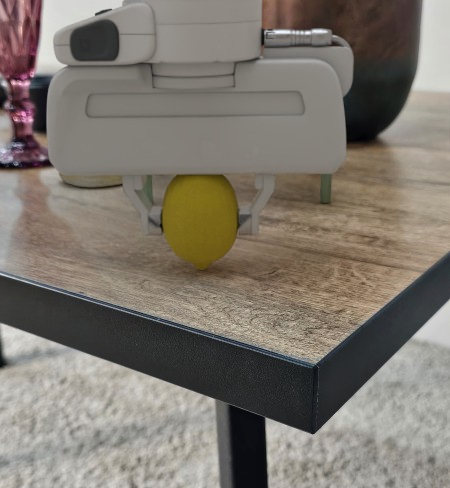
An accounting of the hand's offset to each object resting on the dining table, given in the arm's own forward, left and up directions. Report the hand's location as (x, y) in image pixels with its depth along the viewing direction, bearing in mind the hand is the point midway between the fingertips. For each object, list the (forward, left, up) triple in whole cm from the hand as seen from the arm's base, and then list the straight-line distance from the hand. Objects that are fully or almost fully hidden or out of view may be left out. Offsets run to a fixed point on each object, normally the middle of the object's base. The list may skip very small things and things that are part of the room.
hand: (200, 233), depth 53 cm
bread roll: (-13, +28, -3) cm, 31 cm away
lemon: (0, 0, -3) cm, 3 cm away
